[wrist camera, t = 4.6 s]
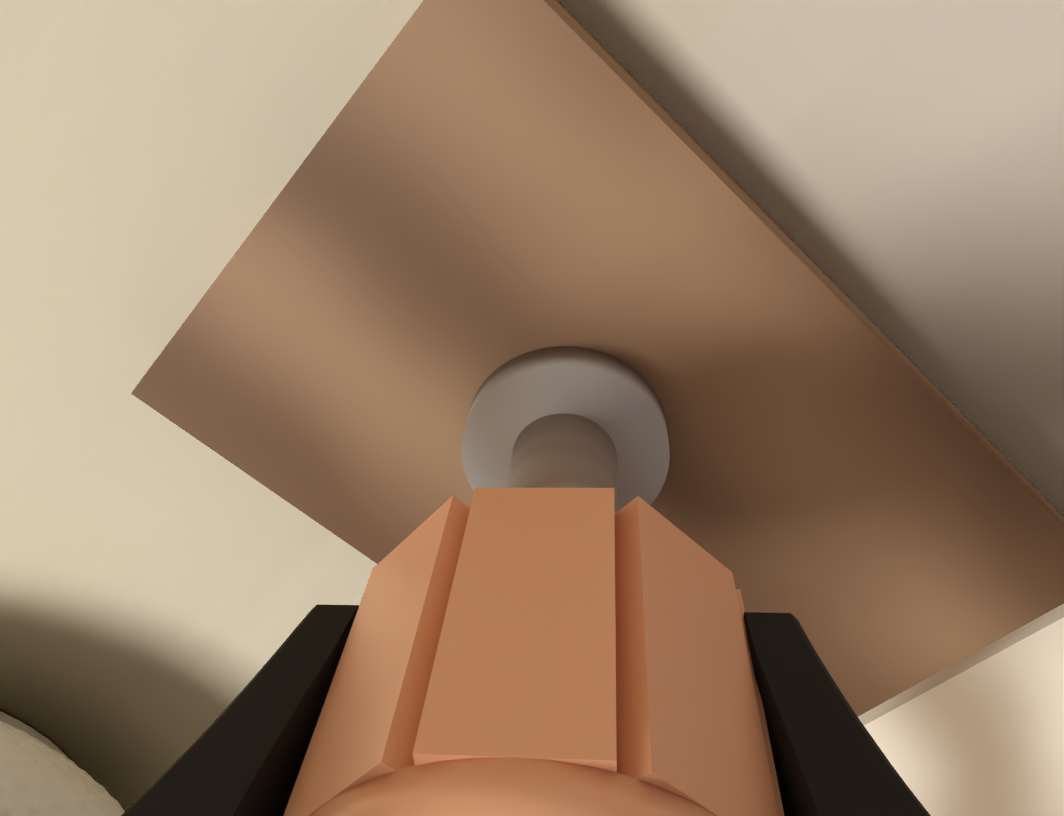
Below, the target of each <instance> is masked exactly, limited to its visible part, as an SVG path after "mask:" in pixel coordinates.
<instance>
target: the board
mask: <svg viewBox="0 0 1064 816" xmlns="http://www.w3.org/2000/svg"><path fill="white" fill-rule="evenodd" d="M131 394H133V395H134V396H136V397H137V398H138V399H140V400H141V401H143V402H144V403H146V404H147V405H149V406H150V407H151V408H153V409H154V410H156V411H157V412H159V413H160V414H162V415H163V416H164V417H166V418H167V419H169V420H170V421H172V422H173V423H175V424H176V425H177V426H179V427H180V428H182V429H183V430H185V431H186V432H188V433H189V434H190V435H192V436H193V437H195V438H196V439H198V440H199V441H201V442H202V443H203V444H205V445H206V446H208V447H209V448H211V449H212V450H214V451H215V452H217V453H218V454H219V455H221V456H222V457H224V458H225V459H227V460H228V461H230V462H231V463H232V464H234V465H235V466H237V467H238V468H240V469H241V470H243V471H244V472H245V473H247V474H248V475H250V476H251V477H253V478H254V479H256V480H257V481H258V482H260V483H261V484H263V485H264V486H266V487H267V488H269V489H270V490H271V491H273V492H274V493H276V494H277V495H279V496H280V497H282V498H283V499H284V500H286V501H287V502H289V503H290V504H292V505H293V506H295V507H296V508H297V509H299V510H300V511H302V512H303V513H305V514H306V515H308V516H309V517H310V518H312V519H313V520H315V521H316V522H318V523H319V524H321V525H322V526H323V527H325V528H326V529H328V530H329V531H331V532H332V533H334V534H335V535H336V536H338V537H339V538H341V539H342V540H344V541H345V542H347V543H348V544H349V545H351V546H352V547H354V548H355V549H357V550H358V551H360V552H361V553H363V554H364V555H365V556H367V557H368V558H370V559H371V560H373V561H374V562H376V563H377V564H378V563H379V562H380V561H382V560H383V559H384V558H385V557H386V556H387V555H388V554H389V553H390V552H391V551H393V550H394V549H395V548H396V547H397V546H398V545H399V544H400V543H401V542H402V541H403V540H405V539H406V538H407V537H408V536H409V535H410V534H411V533H412V532H413V531H414V530H416V529H417V528H418V527H419V526H420V525H421V524H422V523H423V522H424V521H425V520H427V519H428V518H429V517H430V516H431V515H432V514H433V513H434V512H435V511H436V510H437V509H439V508H440V507H441V506H442V505H443V504H444V503H445V502H446V501H447V500H448V499H450V498H451V497H452V496H455V497H456V498H458V499H459V500H460V501H462V502H463V503H464V504H466V505H467V506H468V507H471V503H472V498H473V494H474V490H475V488H614V511H615V514H616V513H617V512H618V511H619V510H621V509H622V508H623V507H625V506H626V505H627V504H628V503H630V502H631V501H632V500H633V499H635V498H636V497H637V496H639V497H640V498H641V499H643V500H644V501H645V502H646V503H648V504H649V505H650V506H651V507H653V508H654V509H655V510H656V511H657V512H659V513H660V514H661V515H662V516H664V517H665V518H666V519H667V520H669V521H670V522H671V523H672V524H673V525H675V526H676V527H677V528H678V529H680V530H681V531H682V532H683V533H685V534H686V535H687V536H688V537H689V538H691V539H692V540H693V541H694V542H696V543H697V544H698V545H699V546H701V547H702V548H703V549H704V550H705V551H707V552H708V553H709V554H710V555H712V556H713V557H714V558H715V559H717V560H718V561H719V562H720V563H721V564H723V565H724V566H725V567H726V568H728V569H729V570H730V571H731V572H733V577H734V583H735V588H736V590H741V595H742V600H743V605H744V610H745V612H762V613H791V614H792V615H793V616H794V617H796V618H797V619H798V621H799V622H800V624H801V626H802V628H803V630H804V632H805V633H806V635H807V637H808V639H809V640H810V642H811V644H812V646H813V647H814V649H815V651H816V652H817V654H818V656H819V657H820V659H821V661H822V662H823V664H824V666H825V667H826V669H827V670H828V672H829V674H830V675H831V677H832V678H833V680H834V682H835V683H836V685H837V686H838V688H839V689H840V691H841V692H842V694H843V696H844V697H845V699H846V700H847V702H848V703H849V705H850V706H851V708H852V709H853V711H854V712H855V714H856V715H857V717H858V718H859V719H860V721H861V722H862V724H863V725H864V727H865V728H866V729H867V731H868V732H869V734H870V735H871V736H872V738H873V739H874V741H875V742H876V743H877V745H878V746H879V748H880V749H881V751H882V752H883V753H884V755H885V756H886V758H887V759H888V760H889V762H890V763H891V765H892V766H893V767H894V769H895V770H896V771H897V773H898V774H899V775H900V777H901V778H902V779H903V781H904V782H905V783H906V785H907V786H908V787H909V789H910V790H911V791H912V792H913V794H914V795H915V796H916V797H917V799H918V800H919V801H920V803H921V804H922V805H923V806H924V808H925V809H926V810H927V811H928V813H929V814H930V815H931V816H1064V517H1063V516H1062V515H1061V514H1060V513H1059V512H1058V511H1057V510H1056V509H1055V508H1054V507H1053V506H1052V505H1051V504H1050V503H1049V502H1048V501H1047V500H1046V499H1045V498H1044V497H1043V496H1042V495H1041V494H1040V493H1039V492H1038V491H1037V489H1036V488H1035V487H1034V486H1033V485H1032V484H1031V483H1030V482H1029V481H1028V480H1027V479H1026V478H1025V477H1024V476H1023V475H1022V474H1021V473H1020V472H1019V471H1018V470H1017V469H1016V468H1015V467H1014V466H1013V465H1012V464H1011V463H1010V462H1009V461H1008V460H1007V459H1006V458H1005V457H1004V456H1003V455H1002V454H1001V453H1000V452H999V451H998V450H997V449H996V448H995V447H994V446H993V445H992V444H991V443H990V442H989V441H988V440H987V438H986V437H985V436H984V435H983V434H982V433H981V432H980V431H979V430H978V429H977V428H976V427H975V426H974V425H973V424H972V423H971V422H970V421H969V420H968V419H967V418H966V417H965V416H964V415H963V414H962V413H961V412H960V411H959V410H958V409H957V408H956V407H955V406H954V405H953V404H952V403H951V402H950V401H949V400H948V399H947V398H946V397H945V396H944V395H943V394H942V393H941V392H940V391H939V390H938V389H937V388H936V386H935V385H934V384H933V383H932V382H931V381H930V380H929V379H928V378H927V377H926V376H925V375H924V374H923V373H922V372H921V371H920V370H919V369H918V368H917V367H916V366H915V365H914V364H913V363H912V362H911V361H910V360H909V359H908V358H907V357H906V356H905V355H904V354H903V353H902V352H901V351H900V350H899V349H898V348H897V347H896V346H895V345H894V344H893V343H892V342H891V341H890V340H889V339H888V338H887V337H886V336H885V334H884V333H883V332H882V331H881V330H880V329H879V328H878V327H877V326H876V325H875V324H874V323H873V322H872V321H871V320H870V319H869V318H868V317H867V316H866V315H865V314H864V313H863V312H862V311H861V310H860V309H859V308H858V307H857V306H856V305H855V304H854V303H853V302H852V301H851V300H850V299H849V298H848V297H847V296H846V295H845V294H844V293H843V292H842V291H841V290H840V289H839V288H838V287H837V286H836V285H835V283H834V282H833V281H832V280H831V279H830V278H829V277H828V276H827V275H826V274H825V273H824V272H823V271H822V270H821V269H820V268H819V267H818V266H817V265H816V264H815V263H814V262H813V261H812V260H811V259H810V258H809V257H808V256H807V255H806V254H805V253H804V252H803V251H802V250H801V249H800V248H799V247H798V246H797V245H796V244H795V243H794V242H793V241H792V240H791V239H790V238H789V237H788V236H787V235H786V234H785V233H784V231H783V230H782V229H781V228H780V227H779V226H778V225H777V224H776V223H775V222H774V221H773V220H772V219H771V218H770V217H769V216H768V215H767V214H766V213H765V212H764V211H763V210H762V209H761V208H760V207H759V206H758V205H757V204H756V203H755V202H754V201H753V200H752V199H751V198H750V197H749V196H748V195H747V194H746V193H745V192H744V191H743V190H742V189H741V188H740V187H739V186H738V185H737V184H736V183H735V182H734V181H733V179H732V178H731V177H730V176H729V175H728V174H727V173H726V172H725V171H724V170H723V169H722V168H721V167H720V166H719V165H718V164H717V163H716V162H715V161H714V160H713V159H712V158H711V157H710V156H709V155H708V154H707V153H706V152H705V151H704V150H703V149H702V148H701V147H700V146H699V145H698V144H697V143H696V142H695V141H694V140H693V139H692V138H691V137H690V136H689V135H688V134H687V133H686V132H685V131H684V130H683V129H682V127H681V126H680V125H679V124H678V123H677V122H676V121H675V120H674V119H673V118H672V117H671V116H670V115H669V114H668V113H667V112H666V111H665V110H664V109H663V108H662V107H661V106H660V105H659V104H658V103H657V102H656V101H655V100H654V99H653V98H652V97H651V96H650V95H649V94H648V93H647V92H646V91H645V90H644V89H643V88H642V87H641V86H640V85H639V84H638V83H637V82H636V81H635V80H634V79H633V78H632V76H631V75H630V74H629V73H628V72H627V71H626V70H625V69H624V68H623V67H622V66H621V65H620V64H619V63H618V62H617V61H616V60H615V59H614V58H613V57H612V56H611V55H610V54H609V53H608V52H607V51H606V50H605V49H604V48H603V47H602V46H601V45H600V44H599V43H598V42H597V41H596V40H595V39H594V38H593V37H592V36H591V35H590V34H589V33H588V32H587V31H586V30H585V29H584V28H583V27H582V26H581V24H580V23H579V22H578V21H577V20H576V19H575V18H574V17H573V16H572V15H571V14H570V13H569V12H568V11H567V10H566V9H565V8H564V7H563V6H562V5H561V4H560V3H559V2H558V1H557V0H424V1H423V2H422V3H421V5H420V6H419V7H418V9H417V10H416V11H415V13H414V14H413V15H412V17H411V18H410V19H409V21H408V22H407V23H406V25H405V26H404V27H403V29H402V30H401V31H400V33H399V34H398V36H397V37H396V38H395V40H394V41H393V42H392V44H391V45H390V46H389V48H388V49H387V50H386V52H385V53H384V54H383V56H382V57H381V58H380V60H379V61H378V62H377V64H376V65H375V66H374V68H373V69H372V70H371V72H370V73H369V74H368V76H367V77H366V79H365V80H364V81H363V83H362V84H361V85H360V87H359V88H358V89H357V91H356V92H355V93H354V95H353V96H352V97H351V99H350V100H349V101H348V103H347V104H346V105H345V107H344V108H343V109H342V111H341V112H340V113H339V115H338V116H337V117H336V119H335V120H334V122H333V123H332V124H331V126H330V127H329V128H328V130H327V131H326V132H325V134H324V135H323V136H322V138H321V139H320V140H319V142H318V143H317V144H316V146H315V147H314V148H313V150H312V151H311V152H310V154H309V155H308V156H307V158H306V159H305V160H304V162H303V163H302V165H301V166H300V167H299V169H298V170H297V171H296V173H295V174H294V175H293V177H292V178H291V179H290V181H289V182H288V183H287V185H286V186H285V187H284V189H283V190H282V191H281V193H280V194H279V195H278V197H277V198H276V199H275V201H274V202H273V203H272V205H271V206H270V208H269V209H268V210H267V212H266V213H265V214H264V216H263V217H262V218H261V220H260V221H259V222H258V224H257V225H256V226H255V228H254V229H253V230H252V232H251V233H250V234H249V236H248V237H247V238H246V240H245V241H244V242H243V244H242V245H241V246H240V248H239V249H238V250H237V252H236V253H235V255H234V256H233V257H232V259H231V260H230V261H229V263H228V264H227V265H226V267H225V268H224V269H223V271H222V272H221V273H220V275H219V276H218V277H217V279H216V280H215V281H214V283H213V284H212V285H211V287H210V288H209V289H208V291H207V292H206V293H205V295H204V296H203V298H202V299H201V300H200V302H199V303H198V304H197V306H196V307H195V308H194V310H193V311H192V312H191V314H190V315H189V316H188V318H187V319H186V320H185V322H184V323H183V324H182V326H181V327H180V328H179V330H178V331H177V332H176V334H175V335H174V336H173V338H172V339H171V341H170V342H169V343H168V345H167V346H166V347H165V349H164V350H163V351H162V353H161V354H160V355H159V357H158V358H157V359H156V361H155V362H154V363H153V365H152V366H151V367H150V369H149V370H148V371H147V373H146V374H145V375H144V377H143V378H142V379H141V381H140V382H139V384H138V385H137V386H136V388H135V389H134V390H133V392H132V393H131Z"/></svg>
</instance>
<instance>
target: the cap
mask: <svg viewBox="0 0 1064 816" xmlns="http://www.w3.org/2000/svg"><path fill="white" fill-rule="evenodd" d="M744 612H745V610H744V605H743V600H742V595H741V590H736V588H735V583H734V577H733V572H731V571H730V570H729V569H728V568H726V567H725V566H724V565H723V564H721V563H720V562H719V561H718V560H717V559H715V558H714V557H713V556H712V555H710V554H709V553H708V552H707V551H705V550H704V549H703V548H702V547H701V546H699V545H698V544H697V543H696V542H694V541H693V540H692V539H691V538H689V537H688V536H687V535H686V534H685V533H683V532H682V531H681V530H680V529H678V528H677V527H676V526H675V525H673V524H672V523H671V522H670V521H669V520H667V519H666V518H665V517H664V516H662V515H661V514H660V513H659V512H657V511H656V510H655V509H654V508H653V507H651V506H650V505H649V504H648V503H646V502H645V501H644V500H643V499H641V498H640V497H639V496H637V497H636V498H635V499H633V500H632V501H631V502H630V503H628V504H627V505H626V506H625V507H623V508H622V509H621V510H619V511H618V512H617V513H616V514H615V511H614V488H475V490H474V494H473V498H472V503H471V507H468V506H467V505H466V504H464V503H463V502H462V501H460V500H459V499H458V498H456V497H455V496H452V497H451V498H450V499H448V500H447V501H446V502H445V503H444V504H443V505H442V506H441V507H440V508H439V509H437V510H436V511H435V512H434V513H433V514H432V515H431V516H430V517H429V518H428V519H427V520H425V521H424V522H423V523H422V524H421V525H420V526H419V527H418V528H417V529H416V530H414V531H413V532H412V533H411V534H410V535H409V536H408V537H407V538H406V539H405V540H403V541H402V542H401V543H400V544H399V545H398V546H397V547H396V548H395V549H394V550H393V551H391V552H390V553H389V554H388V555H387V556H386V557H385V558H384V559H383V560H382V561H380V562H379V563H378V564H377V565H376V566H375V567H374V568H373V570H372V572H371V575H370V578H369V581H368V584H367V586H366V589H365V592H364V595H363V597H362V600H361V603H360V606H359V608H358V611H357V614H356V617H355V619H354V622H353V625H352V628H351V630H350V633H349V636H348V639H347V641H346V644H345V647H344V650H343V652H342V655H341V658H340V661H339V664H338V666H337V669H336V672H335V675H334V677H333V680H332V683H331V686H330V688H329V691H328V694H327V697H326V699H325V702H324V705H323V708H322V710H321V713H320V716H319V719H318V721H317V724H316V727H315V730H314V732H313V735H312V738H311V741H310V744H309V746H308V749H307V752H306V755H305V757H304V760H303V763H302V766H301V768H300V771H299V774H298V777H297V779H296V782H295V785H294V788H293V790H292V793H291V796H290V799H289V801H288V804H287V807H286V810H285V812H284V815H283V816H784V811H783V806H782V801H781V795H780V790H779V785H778V780H777V775H776V770H775V765H774V759H773V754H772V749H771V744H770V739H769V734H768V729H767V723H766V718H765V713H764V708H763V703H762V699H761V696H760V692H759V689H758V686H757V683H756V679H755V675H754V670H753V665H752V660H751V654H750V649H749V644H748V639H747V634H746V628H745V623H744V618H743V617H744Z"/></svg>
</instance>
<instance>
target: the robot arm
mask: <svg viewBox="0 0 1064 816" xmlns="http://www.w3.org/2000/svg"><path fill="white" fill-rule="evenodd" d="M358 608H359V605H316V606H315V607H314V608H313V609H312V610H311V611H310V612H309V613H308V615H307V616H306V617H305V618H304V619H303V620H302V622H301V623H300V624H299V625H298V626H297V627H296V629H295V630H294V631H293V632H292V633H291V635H290V636H289V637H288V638H287V639H286V641H285V642H284V643H283V644H282V645H281V646H280V648H279V649H278V650H277V651H276V652H275V654H274V655H273V656H272V657H271V658H270V659H269V661H268V662H267V663H266V664H265V665H264V666H263V668H262V669H261V670H260V671H259V672H258V673H257V674H256V676H255V677H254V678H253V679H252V680H251V681H250V683H249V684H248V685H247V686H246V687H245V688H244V689H243V690H242V692H241V693H240V694H239V695H238V696H237V697H236V698H235V699H234V700H233V702H232V703H231V704H230V705H229V706H228V707H227V708H226V709H225V710H224V712H223V713H222V714H221V715H220V716H219V717H218V718H217V719H216V720H215V722H214V723H213V724H212V725H211V726H210V727H209V728H208V729H207V730H206V731H205V732H204V733H203V735H202V736H201V737H200V738H199V739H198V740H197V741H196V742H195V743H194V744H193V745H192V746H191V747H190V748H189V749H188V750H187V751H186V752H185V753H184V754H183V755H182V756H181V757H180V758H179V759H178V760H177V761H176V762H175V763H174V764H173V765H172V766H171V767H170V768H169V769H168V770H167V771H166V772H165V773H164V774H163V775H162V776H161V777H160V779H159V780H158V781H157V782H156V783H155V784H154V785H153V786H152V787H151V788H150V789H148V790H147V791H146V792H145V793H144V794H143V795H142V796H141V797H140V798H139V799H138V800H137V801H136V802H135V803H134V804H133V805H132V806H131V807H130V808H129V809H128V810H126V811H125V812H124V813H123V814H122V815H121V816H283V815H284V812H285V810H286V807H287V804H288V801H289V799H290V796H291V793H292V790H293V788H294V785H295V782H296V779H297V777H298V774H299V771H300V768H301V766H302V763H303V760H304V757H305V755H306V752H307V749H308V746H309V744H310V741H311V738H312V735H313V732H314V730H315V727H316V724H317V721H318V719H319V716H320V713H321V710H322V708H323V705H324V702H325V699H326V697H327V694H328V691H329V688H330V686H331V683H332V680H333V677H334V675H335V672H336V669H337V666H338V664H339V661H340V658H341V655H342V652H343V650H344V647H345V644H346V641H347V639H348V636H349V633H350V630H351V628H352V625H353V622H354V619H355V617H356V614H357V611H358ZM743 618H744V623H745V628H746V634H747V639H748V644H749V649H750V654H751V660H752V665H753V670H754V675H755V679H756V683H757V686H758V689H759V692H760V696H761V699H762V703H763V708H764V713H765V718H766V723H767V729H768V734H769V739H770V744H771V749H772V754H773V759H774V765H775V770H776V775H777V780H778V785H779V790H780V795H781V801H782V806H783V811H784V816H931V815H930V814H929V813H928V811H927V810H926V809H925V808H924V806H923V805H922V804H921V803H920V801H919V800H918V799H917V797H916V796H915V795H914V794H913V792H912V791H911V790H910V789H909V787H908V786H907V785H906V783H905V782H904V781H903V779H902V778H901V777H900V775H899V774H898V773H897V771H896V770H895V769H894V767H893V766H892V765H891V763H890V762H889V760H888V759H887V758H886V756H885V755H884V753H883V752H882V751H881V749H880V748H879V746H878V745H877V743H876V742H875V741H874V739H873V738H872V736H871V735H870V734H869V732H868V731H867V729H866V728H865V727H864V725H863V724H862V722H861V721H860V719H859V718H858V717H857V715H856V714H855V712H854V711H853V709H852V708H851V706H850V705H849V703H848V702H847V700H846V699H845V697H844V696H843V694H842V692H841V691H840V689H839V688H838V686H837V685H836V683H835V682H834V680H833V678H832V677H831V675H830V674H829V672H828V670H827V669H826V667H825V666H824V664H823V662H822V661H821V659H820V657H819V656H818V654H817V652H816V651H815V649H814V647H813V646H812V644H811V642H810V640H809V639H808V637H807V635H806V633H805V632H804V630H803V628H802V626H801V624H800V622H799V621H798V619H797V618H796V617H794V616H793V615H792V614H791V613H762V612H744V617H743Z"/></svg>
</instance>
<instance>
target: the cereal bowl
mask: <svg viewBox="0 0 1064 816" xmlns="http://www.w3.org/2000/svg"><path fill="white" fill-rule="evenodd" d="M124 812H125V811H124V810H123V809H122V807H121V805H120V804H119V803H118V801H117V800H116V799H114V798H113V797H111V796H110V794H109V793H108V792H107V790H105V788H104V787H103V786H102V785H100V784H99V783H97V782H95V780H94V779H92V777H91V776H90V775H89V774H88V773H87V772H86V771H84V770H82V769H80V768H79V767H78V766H77V765H76V764H75V763H74V762H73V761H72V760H70V759H69V758H68V757H67V756H66V755H65V754H64V753H63V752H62V751H61V750H60V749H59V748H58V747H57V746H56V745H55V744H53V743H52V742H51V741H50V740H49V739H48V738H46V737H45V736H43V735H42V734H40V733H39V732H37V731H36V730H35V729H33V728H32V727H30V726H28V725H26V724H24V723H23V722H21V721H19V720H17V719H15V718H13V717H11V716H9V715H7V714H5V713H3V712H1V711H0V816H121V815H122V814H123V813H124Z"/></svg>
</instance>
